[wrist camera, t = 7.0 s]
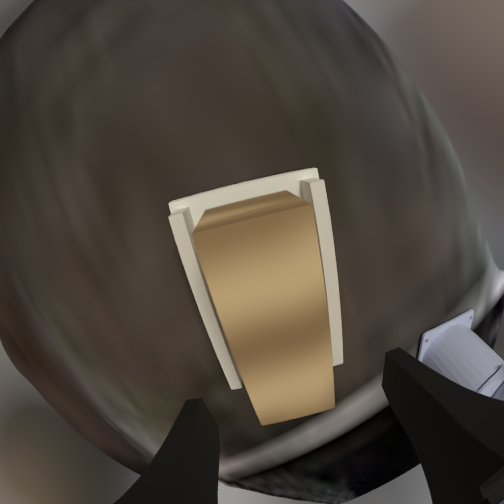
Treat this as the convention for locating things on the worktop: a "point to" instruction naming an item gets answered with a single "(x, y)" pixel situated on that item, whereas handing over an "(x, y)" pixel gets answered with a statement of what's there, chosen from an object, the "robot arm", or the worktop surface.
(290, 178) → the peg base
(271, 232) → the golden brown block
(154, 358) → the worktop surface
